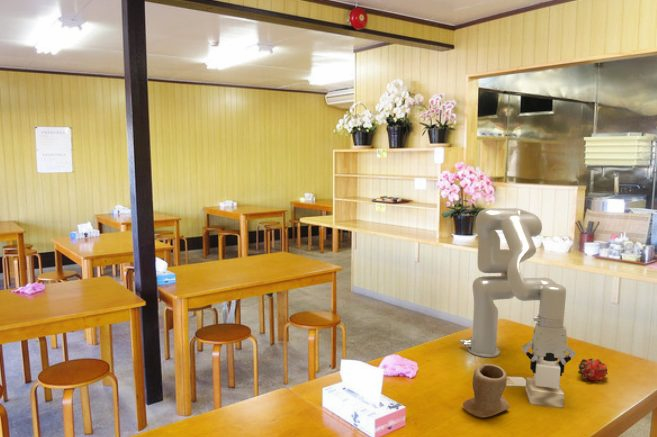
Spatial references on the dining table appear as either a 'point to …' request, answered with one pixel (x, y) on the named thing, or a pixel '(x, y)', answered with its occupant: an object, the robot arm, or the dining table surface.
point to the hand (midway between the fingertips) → (546, 372)
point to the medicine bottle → (547, 371)
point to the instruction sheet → (516, 381)
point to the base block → (544, 395)
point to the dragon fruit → (592, 369)
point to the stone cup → (487, 391)
